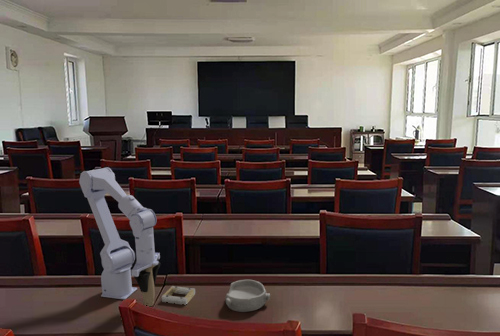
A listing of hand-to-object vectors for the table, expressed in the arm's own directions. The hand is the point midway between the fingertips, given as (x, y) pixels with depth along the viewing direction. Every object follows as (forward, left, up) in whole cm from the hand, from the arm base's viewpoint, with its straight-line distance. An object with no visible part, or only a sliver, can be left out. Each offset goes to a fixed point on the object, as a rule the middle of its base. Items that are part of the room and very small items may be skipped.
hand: (148, 288), depth 133 cm
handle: (0, 0, -6) cm, 6 cm away
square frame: (+8, +7, -6) cm, 12 cm away
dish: (+31, +9, -6) cm, 32 cm away
